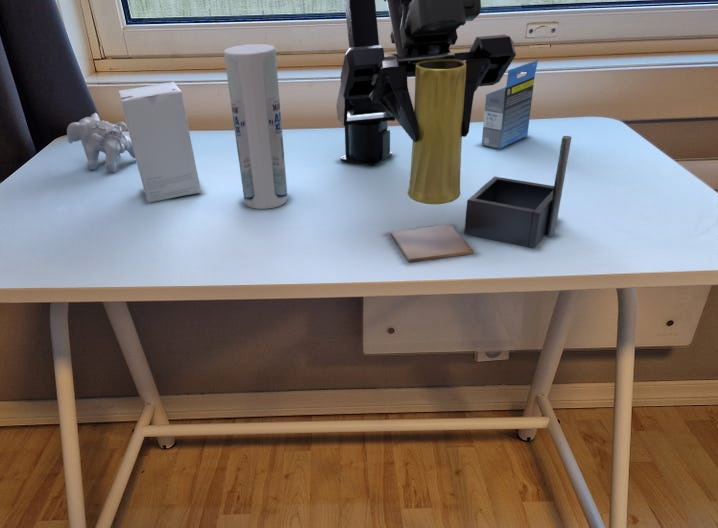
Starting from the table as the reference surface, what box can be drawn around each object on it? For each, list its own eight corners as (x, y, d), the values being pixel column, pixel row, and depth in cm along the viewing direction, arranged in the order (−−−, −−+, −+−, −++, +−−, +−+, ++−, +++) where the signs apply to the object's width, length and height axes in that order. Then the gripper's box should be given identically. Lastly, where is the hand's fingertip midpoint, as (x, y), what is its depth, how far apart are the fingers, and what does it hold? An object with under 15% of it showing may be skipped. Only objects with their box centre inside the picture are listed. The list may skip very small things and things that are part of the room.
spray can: (244, 193, 94) (224, 45, 82) (288, 190, 94) (274, 42, 83) (243, 211, 89) (222, 55, 77) (289, 207, 89) (275, 52, 78)
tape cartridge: (508, 132, 113) (517, 57, 105) (528, 136, 110) (538, 59, 103) (480, 145, 108) (487, 67, 100) (500, 150, 105) (509, 70, 98)
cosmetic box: (195, 181, 99) (177, 80, 90) (202, 194, 95) (184, 89, 86) (140, 190, 97) (117, 87, 88) (145, 204, 92) (120, 97, 84)
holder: (464, 233, 80) (472, 137, 73) (490, 208, 86) (500, 117, 79) (542, 250, 75) (559, 149, 68) (564, 222, 82) (582, 126, 74)
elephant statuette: (126, 174, 103) (114, 126, 99) (56, 175, 104) (41, 127, 100) (145, 155, 111) (135, 109, 106) (79, 156, 112) (66, 111, 107)
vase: (412, 183, 78) (416, 57, 69) (462, 186, 76) (473, 57, 68) (403, 203, 73) (407, 70, 64) (457, 206, 72) (468, 71, 63)
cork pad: (390, 234, 81) (390, 231, 81) (450, 226, 82) (450, 223, 82) (408, 262, 74) (409, 259, 74) (473, 253, 76) (473, 250, 75)
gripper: (342, -42, 62) (370, 105, 60) (520, -53, 65) (554, 86, 63) (330, 34, 73) (353, 160, 71) (483, 21, 76) (510, 142, 74)
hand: (441, 137), depth 69 cm, fingers closed on vase, 5 cm apart
